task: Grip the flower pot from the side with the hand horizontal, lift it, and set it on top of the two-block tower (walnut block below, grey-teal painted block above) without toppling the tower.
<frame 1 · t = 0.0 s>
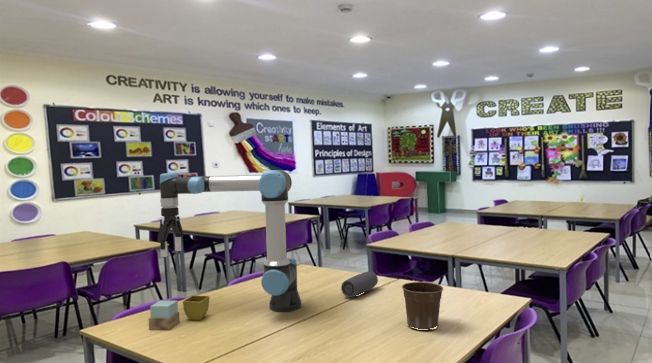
hand: (171, 253, 202), 28 cm above the table, tool pointing down, fingers open, 13 cm apart
tower top: (164, 315, 188), point 5 cm above the table, touching tower base
tower base: (164, 326, 188), on the table, touching tower top
bluetooth speaker: (360, 294, 228), on the table
plant pot: (423, 326, 180), on the table
flower pot: (197, 319, 197), on the table
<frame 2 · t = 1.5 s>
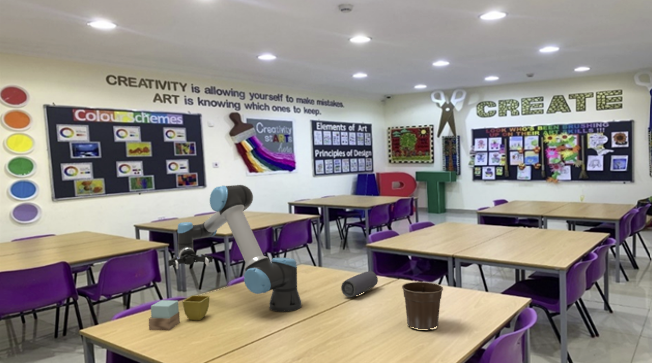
hand: (192, 264, 205), 22 cm above the table, tool horizontal, fingers open, 13 cm apart
tower top: (165, 314, 188), point 5 cm above the table
tower base: (164, 326, 188), on the table
everything else where it was.
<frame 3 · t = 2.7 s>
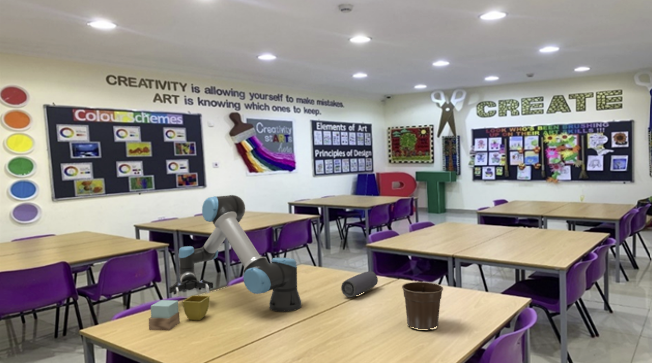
hand: (193, 292, 206), 9 cm above the table, tool horizontal, fingers open, 13 cm apart
tower top: (165, 314, 189), point 5 cm above the table, touching tower base
tower base: (164, 326, 188), on the table, touching tower top
everything else where it was.
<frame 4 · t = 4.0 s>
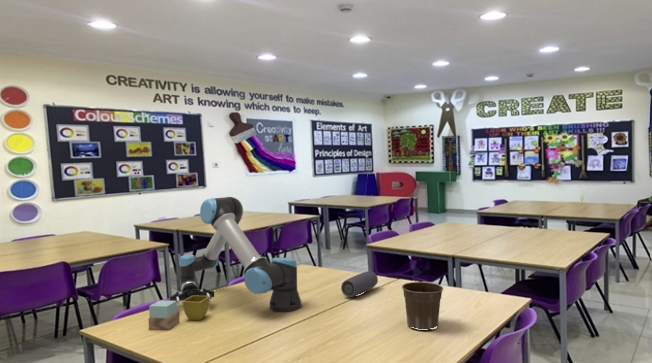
hand: (194, 301, 203), 6 cm above the table, tool horizontal, fingers open, 13 cm apart
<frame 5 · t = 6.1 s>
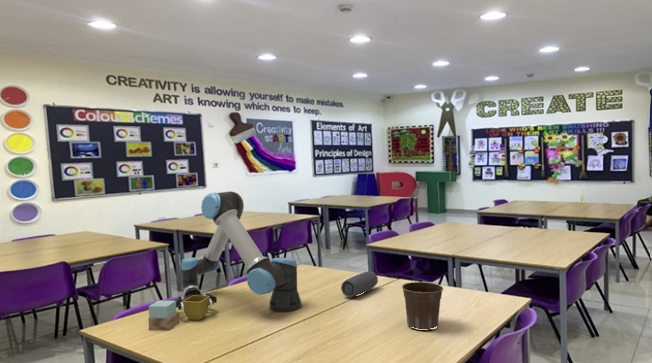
hand: (197, 307, 193), 6 cm above the table, tool horizontal, fingers closed on flower pot, 11 cm apart
tower top: (163, 315, 188), point 5 cm above the table
tower base: (164, 326, 188), on the table
flower pot: (197, 318, 197), on the table, touching gripper
everything else where it was.
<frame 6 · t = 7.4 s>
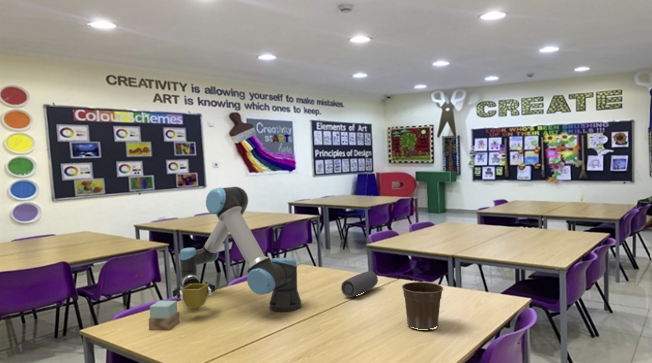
hand: (196, 295, 193), 11 cm above the table, tool horizontal, fingers closed on flower pot, 11 cm apart
tower top: (164, 315, 188), point 5 cm above the table, touching tower base
tower base: (164, 326, 188), on the table, touching tower top
flower pot: (196, 306, 197), point 5 cm above the table, touching gripper
everything else where it was.
when the fingers open (17 cm above the table, at t = 10.9 s): flower pot drops 1 cm, resting on tower top.
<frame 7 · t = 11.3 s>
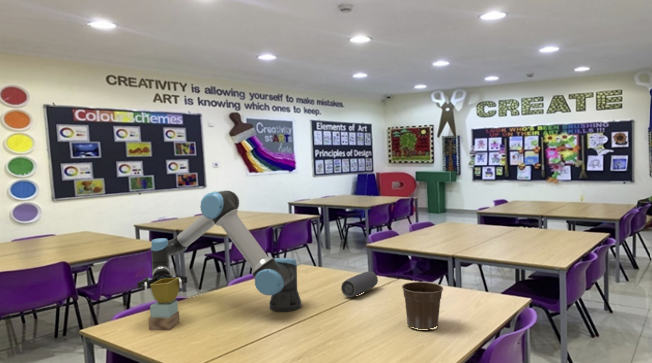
hand: (163, 286, 185), 18 cm above the table, tool horizontal, fingers open, 13 cm apart
tower top: (164, 314, 188), point 5 cm above the table, touching flower pot, tower base
flower pot: (167, 302, 189), point 10 cm above the table, touching gripper, tower top
everything else where it was.
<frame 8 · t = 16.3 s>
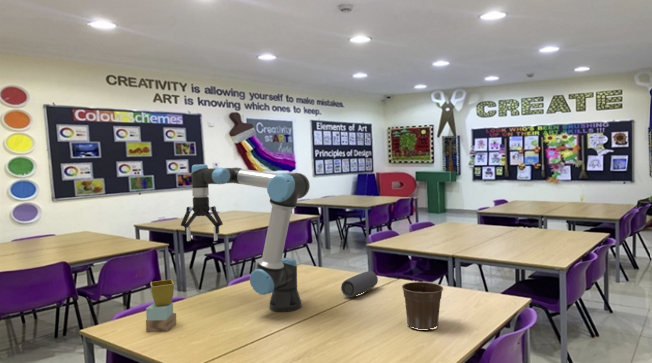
hand: (202, 240, 214), 32 cm above the table, tool pointing down, fingers open, 13 cm apart
tower top: (160, 317, 186), point 5 cm above the table, touching flower pot, tower base
tower base: (161, 328, 187), on the table, touching tower top
flower pot: (163, 304, 187), point 10 cm above the table, touching tower top
everything else where it was.
at the end: flower pot 1.7 cm from the tower top (horizontally); flower pot point 9.6 cm above the table; tower top tilted 0° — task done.
